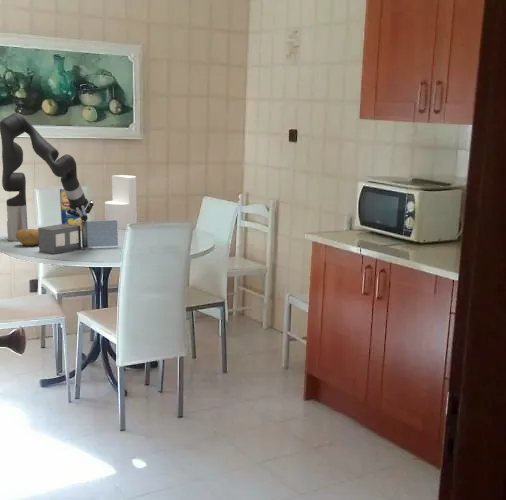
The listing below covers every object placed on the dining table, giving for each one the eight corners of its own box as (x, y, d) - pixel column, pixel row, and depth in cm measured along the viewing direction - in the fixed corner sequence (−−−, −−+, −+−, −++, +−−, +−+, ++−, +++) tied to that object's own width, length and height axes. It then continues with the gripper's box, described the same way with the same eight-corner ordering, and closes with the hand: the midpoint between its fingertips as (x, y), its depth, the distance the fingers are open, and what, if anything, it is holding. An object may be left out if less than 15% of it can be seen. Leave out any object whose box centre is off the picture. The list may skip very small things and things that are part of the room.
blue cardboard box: (83, 230, 371) (82, 189, 367) (62, 231, 367) (60, 190, 363) (82, 228, 377) (80, 188, 373) (61, 229, 374) (59, 189, 369)
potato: (48, 246, 329) (47, 229, 327) (17, 248, 323) (16, 231, 322) (46, 242, 337) (45, 226, 336) (15, 244, 332) (15, 228, 331)
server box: (59, 255, 309) (58, 231, 307) (39, 251, 317) (38, 227, 315) (92, 248, 325) (91, 225, 322) (72, 245, 332) (71, 222, 330)
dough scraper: (82, 247, 322) (81, 221, 320) (82, 246, 325) (81, 221, 322) (118, 246, 327) (117, 220, 324) (117, 245, 329) (116, 220, 327)
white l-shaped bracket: (126, 223, 396) (125, 174, 391) (143, 227, 384) (142, 177, 378) (99, 226, 385) (97, 176, 379) (116, 230, 372) (114, 178, 367)
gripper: (61, 203, 305) (72, 229, 318) (90, 193, 307) (100, 220, 320) (58, 192, 309) (69, 219, 322) (87, 183, 312) (97, 210, 325)
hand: (85, 219), depth 321 cm, fingers closed
